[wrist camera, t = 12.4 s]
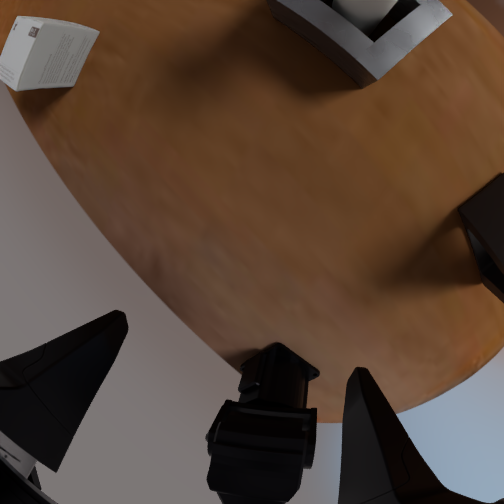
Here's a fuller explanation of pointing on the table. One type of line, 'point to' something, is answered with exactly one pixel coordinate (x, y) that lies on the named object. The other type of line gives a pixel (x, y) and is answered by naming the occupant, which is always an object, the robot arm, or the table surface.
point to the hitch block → (361, 34)
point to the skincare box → (44, 53)
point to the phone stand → (487, 234)
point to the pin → (363, 12)
